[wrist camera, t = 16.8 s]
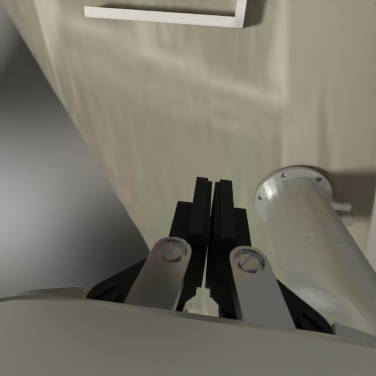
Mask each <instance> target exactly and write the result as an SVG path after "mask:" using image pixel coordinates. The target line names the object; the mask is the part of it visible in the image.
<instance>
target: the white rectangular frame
mask: <svg viewBox="0 0 376 376" xmlns="http://www.w3.org/2000/svg"><path fill="white" fill-rule="evenodd" d="M246 2H247V0H237V2H236V9H235V17H228V16H214V15H200V14H185V13H171V12H157V11H143V10H128V9H114V8H100V7H86V6H84V11H85V17H91V18H102V19H116V20H129V21H143V22H157V23H170V24H184V25H198V26H212V27H225V28H239V29H241V28H243V21H244V15H245V8H246Z"/></svg>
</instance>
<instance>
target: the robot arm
mask: <svg viewBox="0 0 376 376" xmlns="http://www.w3.org/2000/svg"><path fill="white" fill-rule="evenodd" d="M283 173H284V174H283ZM211 193H212V181H208V178H203V177H197V180H196V186H195V192H194V198H193V203H191V202H183V201H178V203H177V207H176V211H175V215H174V218H173V222H172V226H171V230H170V234H169V237H166V238H163V239H161V240H159V241H158V242H157V243H156V244H155V245H154V247H153V249H152V250H151V252H150V254H149V256H148V258H147V259H145V260H143V261H141V262H139V263H137V264H135V265H133V266H131V267H130V268H127V269H125V270H124V271H122V272H120V273H118V274H116V275H114V276H112V277H110V278H108V279H106V280H104V281H102V282H100V283H99V284H97V285H96V286H94V287H93V288H92V289H86V287H85V286H78V287H64V288H50V289H36V290H29V291H24V292H22V293H20V294H18V295H16V296H11V297H5V298H0V376H376V272H375V270H374V269H373V268H372V266H371V264H370V263H369V261H368V260H367V258H366V257H365V255H364V254H363V253H362V251H361V250H360V248H359V247H358V245H357V244H356V242H355V240H354V239H353V237H352V236H351V234H350V233H349V231H348V230H347V228H346V227H345V226H351V225H352V224H353V216H352V215H349V214H337V213H336V212H335V210H340V211H347V212H349V211H350V210H351V204H350V203H343V202H341V203H340V202H336V201H335V200H334V199H333V191H332V187H331V185H330V183H329V181H328V180H327V179H326V178H325V176H323V175H322V174H321V173H320V172H318V171H316V170H314V169H311V168H308V167H300V166H296V167H288V168H283V169H281V170H278V171H276V172H274V173H272V174H270V175H269V176H268V177H266V178H265V179H264V180H263V181H262V182H261V184H260V185H259V186H258V188H257V190H256V193H255V196H254V205H255V209H256V212H257V214H258V216H259V217H260V218H261V219H262V221H264V222H265V223H266V224H268V225H269V228H270V232H271V236H272V240H273V243H274V247H275V251H276V255H277V259H278V263H279V267H280V271H281V275H282V278H283V282H284V284H282V283H281V282H280V281H279V280H277V279H276V278H275V275H274V273H273V270H272V268H271V265H270V263H269V260H268V259H267V257H266V256H265V255H264V254H263V253H262V252H261V251H259V250H258V249H256V248H253V247H251V240H250V233H249V227H248V220H247V213H246V209H242V208H234V203H233V190H232V181H230V180H221V179H220V182H215V189H214V196H213V202H212V209H211ZM210 211H211V216H210ZM207 246H208V250H207ZM206 253H207V266H206V283H205V288H207V289H210V297H212V298H213V300H214V301H215V302H216V303H217V304H218V314H219V317H213V316H206V315H199V314H192V313H186V312H184V311H185V308H186V302H187V301H188V300H190V299H191V298H192V297H194V296H195V295H196V289H197V287H200V288H201V286H202V280H203V273H204V266H205V260H206Z"/></svg>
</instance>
